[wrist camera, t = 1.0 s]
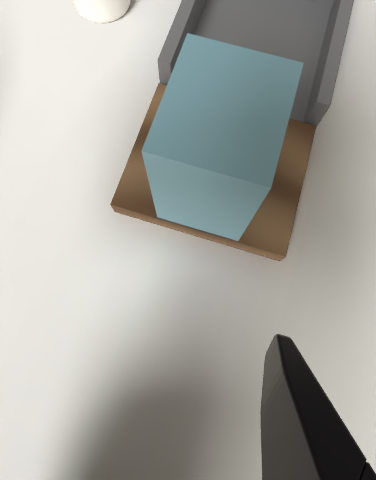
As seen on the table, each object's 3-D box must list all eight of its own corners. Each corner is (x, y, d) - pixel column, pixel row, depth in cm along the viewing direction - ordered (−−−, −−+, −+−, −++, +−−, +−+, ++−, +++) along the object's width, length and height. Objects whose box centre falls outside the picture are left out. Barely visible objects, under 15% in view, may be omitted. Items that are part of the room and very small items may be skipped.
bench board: (279, 261, 24) (285, 256, 23) (114, 211, 25) (110, 204, 24) (309, 136, 27) (316, 125, 25) (160, 96, 28) (158, 83, 26)
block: (238, 241, 23) (271, 188, 14) (157, 217, 23) (141, 151, 15) (261, 156, 25) (303, 62, 16) (186, 135, 25) (187, 32, 16)
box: (311, 133, 27) (330, 105, 24) (160, 92, 28) (157, 60, 24) (341, 6, 31) (361, -34, 27) (207, -26, 31) (210, -69, 28)
